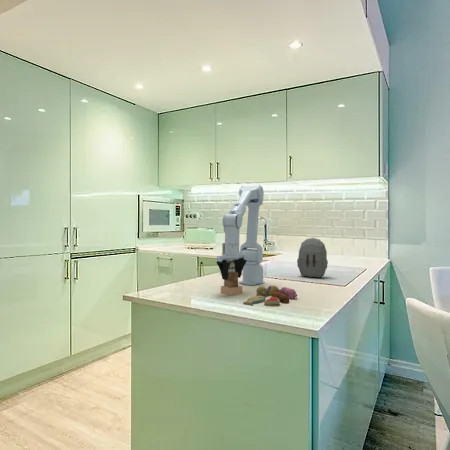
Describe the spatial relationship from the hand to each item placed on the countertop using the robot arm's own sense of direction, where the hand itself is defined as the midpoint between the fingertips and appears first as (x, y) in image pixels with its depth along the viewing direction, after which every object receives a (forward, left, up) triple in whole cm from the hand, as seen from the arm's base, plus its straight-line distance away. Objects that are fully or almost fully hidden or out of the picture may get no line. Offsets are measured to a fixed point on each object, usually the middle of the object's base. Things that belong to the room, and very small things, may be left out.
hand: (231, 278), depth 139 cm
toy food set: (-4, +17, -6) cm, 19 cm away
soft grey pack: (-57, +2, -6) cm, 57 cm away
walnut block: (0, 0, -3) cm, 3 cm away
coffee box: (-35, -34, -6) cm, 49 cm away
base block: (0, 0, -6) cm, 6 cm away
